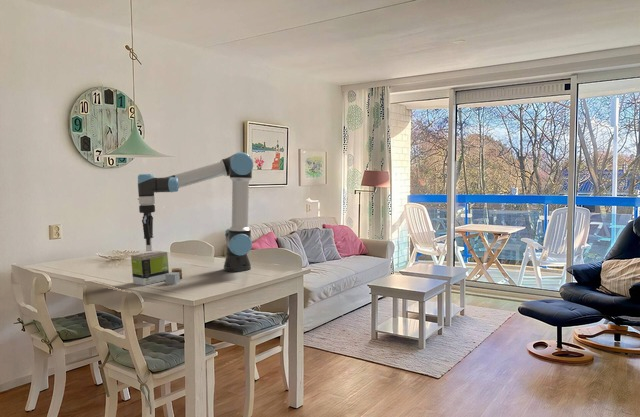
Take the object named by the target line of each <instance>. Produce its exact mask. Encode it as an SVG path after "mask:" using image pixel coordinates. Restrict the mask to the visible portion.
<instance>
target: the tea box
mask: <svg viewBox="0 0 640 417" xmlns="http://www.w3.org/2000/svg"><path fill="white" fill-rule="evenodd" d="M130 261H131V272H132V282H133V284H136V285H139V286H140V285H141V286H147V285H150V284H151V285H152V284H155V283H159V282H164V281H165V282H166V277H165V274H168V273H170V271H169V256H168V252H167V251H159V250H154V251H153V250H152V251H146V252H142V253H136V254H130Z"/></svg>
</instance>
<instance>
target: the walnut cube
mask: <svg viewBox="0 0 640 417" xmlns="http://www.w3.org/2000/svg"><path fill="white" fill-rule="evenodd" d="M171 272H179V275H180V280H183V273H182V272H183V268H182V267H175V268H171Z"/></svg>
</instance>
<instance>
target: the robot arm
mask: <svg viewBox="0 0 640 417" xmlns="http://www.w3.org/2000/svg"><path fill="white" fill-rule="evenodd" d="M253 169H254V161H253V158H252V156H251V155H249V153H246V152H243V151H239V152H236V153H234V154H232V155H230V156H228V157H225V158H223V159H220V160H219V162H218V161H217V162H216V163H212V164H208V165H205V166H201V167H197V168H194V169H190V170H187V171H183V172H180V173H175V174H173V175H170V176H165V177H154V176H155V175H154V174H153V173H140V174H138V175H137V193H138V198H137V200H138V204H139V206H138V213H140V214H143V216H142V220H141V223H142V229H143V230H142V231H143V239H145V251H146V252H153V238H154V236H153V235H154V234H153V232H154V231H153V229H154V223H153V222H154V217H153V215H152V213H155V212H156V207H155V206H156V205H155V204H156V200H155V198H156V197H155V193H176V192H178V191H179V189H181V188H184V187H188V186H191V185H196V184H198V183H202V182H205V181H209V180H212V179H216V178H219V177H223V176H224V177H229V179H230V180H231V182H232V183H231V184H232V188H231V190H232V191H231V195H232V196H231V199H232V200H231V227H229V228H227V229H226V230H225V234H224V236H225V251H226V253H225V254H226V256H225V260H224V264H223V271H225V272H231V273H232V272H235V273H237V272H244V271H250V270H251V269H252V264H251V261H250V258H249V255H248V253H249V252H250V251H251V250H252V246H253V243H252V241H253V240H252V239H251V238H252V235H251V234H252V233H251V232H252V230H251V228H250V227H249V197H250V195H249V192H250V190H249V188H250V187H249V186H250V184H249V183H250V181H251V180H252V179H253Z"/></svg>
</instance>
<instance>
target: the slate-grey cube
mask: <svg viewBox="0 0 640 417" xmlns="http://www.w3.org/2000/svg"><path fill="white" fill-rule="evenodd" d="M165 277H166V280H165V284H166V285H177V284H179V283H180V282H181V281H180V280H181V279H180V275H179V272H172V271H171V272H170V271H169V273H168V274H165Z"/></svg>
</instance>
